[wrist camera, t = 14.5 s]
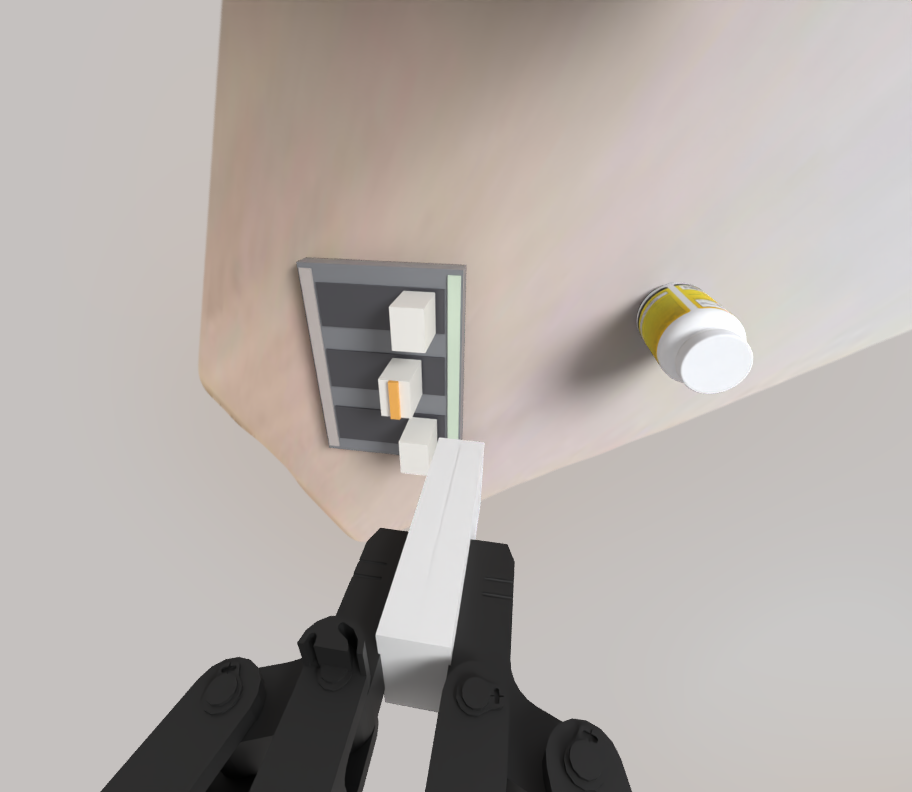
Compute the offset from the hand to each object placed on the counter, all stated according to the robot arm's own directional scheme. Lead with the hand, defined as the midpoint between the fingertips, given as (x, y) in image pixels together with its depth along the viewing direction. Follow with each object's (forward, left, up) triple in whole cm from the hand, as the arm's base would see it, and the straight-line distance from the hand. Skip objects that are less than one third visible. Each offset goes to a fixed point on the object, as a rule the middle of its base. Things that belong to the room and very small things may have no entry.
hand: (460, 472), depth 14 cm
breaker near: (+4, -8, -27) cm, 28 cm away
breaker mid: (+11, -9, -27) cm, 30 cm away
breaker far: (+18, -8, -27) cm, 33 cm away
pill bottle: (+3, +16, -29) cm, 33 cm away
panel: (+11, -12, -29) cm, 33 cm away
